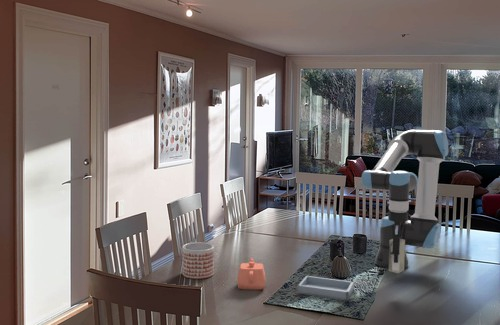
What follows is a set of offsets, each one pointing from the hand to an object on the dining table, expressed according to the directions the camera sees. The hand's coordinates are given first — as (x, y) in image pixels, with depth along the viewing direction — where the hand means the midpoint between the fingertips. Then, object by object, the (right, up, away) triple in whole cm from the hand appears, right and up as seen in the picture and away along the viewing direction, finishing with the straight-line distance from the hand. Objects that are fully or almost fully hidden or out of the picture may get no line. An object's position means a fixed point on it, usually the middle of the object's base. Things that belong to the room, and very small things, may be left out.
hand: (396, 267), depth 203 cm
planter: (-81, -8, +21) cm, 84 cm away
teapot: (-58, -10, +7) cm, 59 cm away
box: (0, -2, 0) cm, 2 cm away
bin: (-28, -10, +2) cm, 30 cm away
